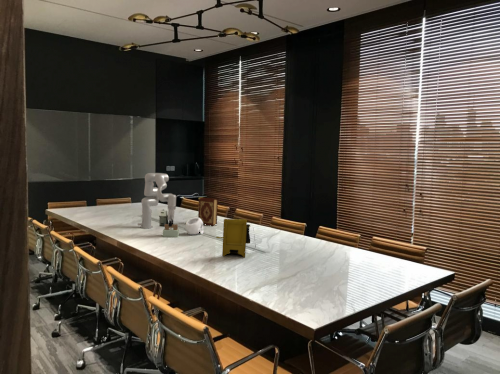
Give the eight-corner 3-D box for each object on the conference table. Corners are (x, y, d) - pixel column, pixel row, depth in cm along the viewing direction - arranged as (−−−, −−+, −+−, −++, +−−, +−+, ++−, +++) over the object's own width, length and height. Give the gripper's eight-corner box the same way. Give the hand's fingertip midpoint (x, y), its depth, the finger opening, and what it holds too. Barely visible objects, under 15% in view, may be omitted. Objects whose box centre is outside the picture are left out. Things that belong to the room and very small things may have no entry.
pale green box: (162, 236, 364) (162, 229, 363) (164, 234, 374) (164, 227, 373) (177, 237, 365) (177, 229, 364) (178, 235, 375) (179, 227, 374)
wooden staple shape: (164, 230, 364) (164, 225, 364) (164, 229, 369) (165, 224, 369) (177, 230, 365) (177, 225, 365) (177, 229, 370) (177, 224, 370)
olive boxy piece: (254, 253, 316) (256, 217, 314) (255, 258, 302) (257, 220, 300) (216, 252, 315) (217, 215, 313) (215, 256, 301) (216, 218, 299)
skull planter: (209, 231, 390) (204, 215, 381) (196, 243, 376) (190, 227, 368) (200, 229, 398) (194, 214, 390) (186, 240, 385) (180, 225, 377)
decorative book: (196, 223, 440) (197, 197, 438) (200, 223, 447) (201, 197, 445) (213, 226, 430) (214, 199, 427) (216, 225, 437) (218, 199, 434)
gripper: (168, 206, 375) (168, 223, 377) (166, 208, 358) (165, 227, 360) (176, 206, 376) (175, 223, 378) (174, 209, 359) (173, 227, 360)
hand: (170, 225), depth 369 cm, fingers open, 9 cm apart
